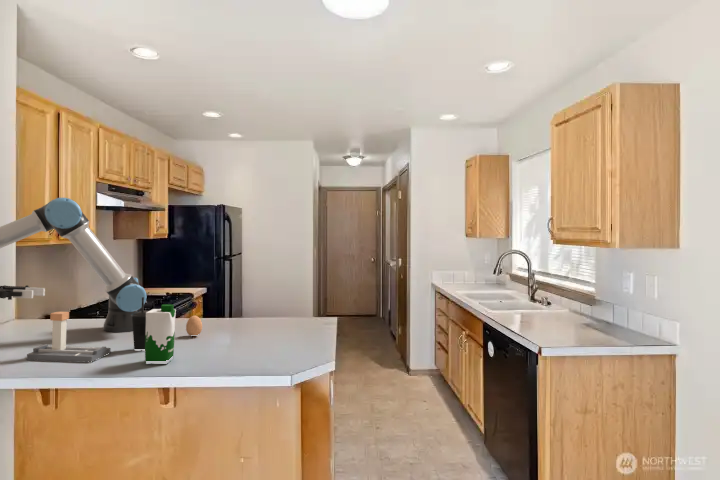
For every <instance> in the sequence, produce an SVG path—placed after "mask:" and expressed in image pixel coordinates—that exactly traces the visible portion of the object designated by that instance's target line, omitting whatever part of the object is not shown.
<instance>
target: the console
mask: <svg viewBox="0 0 720 480" xmlns="http://www.w3.org/2000/svg"><path fill="white" fill-rule="evenodd" d="M108 353H110V354H111V348H110V347H107V346H101V347H96V346H95V347H94V346H93V347H92V346H72V345H71V346H70V345H66V349H65V350H54V349H52V345H49V344H48V343H45V344H42V345H39V346H36V347H33V349H32V352H29V353H27V354H26V361H40V362H41V361H43V362H44V361H45V362H64V361H89V362H91V361H94V360H96V359H98V358H100V357H102V356H104V355H106V354H108ZM108 355H109V354H108ZM106 356H107V355H106ZM104 357H105V356H104ZM102 358H103V357H102ZM100 359H101V358H100ZM98 360H99V359H98ZM96 361H97V360H96ZM89 362H88V363H89ZM94 362H95V361H94Z"/></svg>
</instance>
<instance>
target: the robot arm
mask: <svg viewBox="0 0 720 480" xmlns="http://www.w3.org/2000/svg"><path fill="white" fill-rule="evenodd" d="M89 225H90V220H89V219H88V217H87V216H86V215H85V214H84V213H83V211H82V208H81V207H80V205H79V204H78V203H77V202H76V201H75V200H73V199H71V198H68V197H56V198H54V199H52V200H50V201H48V203H46V204H45V205H42V206H41V207H39V208H36V209H34V210H32V212H31V214H29V215H26V216H24V217H21V218H18V219H16V220H14V221H10V222H9V223H5V224H4V225H1V226H0V249H2V248H4V247H7V246H9V245H12V244H14V243H17V242H19V241H21V240H23V239H26V238H29V237H30V236H34V235H36V234H38V233H40V232H44V233H47V232H50V231H52V230H55V232H57V233H58V235H59V236H60V238H63V239H67V240H68V241H69V242H70V243H71V244H72V246H73V247H74V248H75V249H76V251H77V252H78V253H79V254H80V255H81V256H82V258H83V259H84V260H85V261H86V263H87V264H88V265H89V267H90V268H91V269H92V270H93V271H94V272H95V274H96V275H97V276H98V278H100V280H101V281H102V282H103V283H104V285H105V286H106V287H105V292H106V293H107V295H108V309H107V310H108V313H107V316H106V318H105V319H104V323H103V331H104V332H110V333H122V332H123V333H125V332H133V324H132V316H131V314H133V313H135V312H138V311H139V310H141V309H142V297H144V305H145V303H146V301H147V296H148V295H147V292H146V290H145V288H144V287H143V286H141V285H140V284H139V279H138V278H137V277H134V276H133V275H132V274H131V273H126V272H125V271H124V270H123V268H122V266H120V265H119V263H118V262H117V261H116V260H115V258H114V257H113V256H112V254H111V253H110V252H109V251H108V249H107V248H106V247H105V246H104V245H103V243H102V242H101V240H100V239H99V238H98V237H97V235H96V234H95V233H94V232H93V231H92V229H91V228H90V226H89ZM34 296H37V297H38V296H39V297H45V296H46V287H31V286H29V285H28V284H27V285H25V286H21V285H20V286H18V285H17V286H16V285H15V286H14V285H5V284H4V285H0V299H4V300H5V299H6V298H7V300H8V301H10V300H13V298H14V299H15V298H16V299H34Z"/></svg>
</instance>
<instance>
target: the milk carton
mask: <svg viewBox="0 0 720 480" xmlns="http://www.w3.org/2000/svg"><path fill="white" fill-rule="evenodd" d="M160 307H161V308H152V309H151V310H147V311H148V312H146V335H145V351H144V359H145V361H166V360H169V359H170V358H171V357H172V356H173V357H174V351H175V328H176V315H177V313H176V312H177V309H175V308H174V304H170V303H165V304H161V305H160ZM145 361H144V362H145Z"/></svg>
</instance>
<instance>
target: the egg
mask: <svg viewBox="0 0 720 480" xmlns="http://www.w3.org/2000/svg"><path fill="white" fill-rule="evenodd" d="M185 330H186V333H187V335H189V336H190V335H198V334H199V335H200V334H201V333H202V330H203V323H202V320H201V318H200V317H199V316H197V315H191V316H190V317H189V319H188V320H187V322H186V324H185ZM199 335H198V336H199Z"/></svg>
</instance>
